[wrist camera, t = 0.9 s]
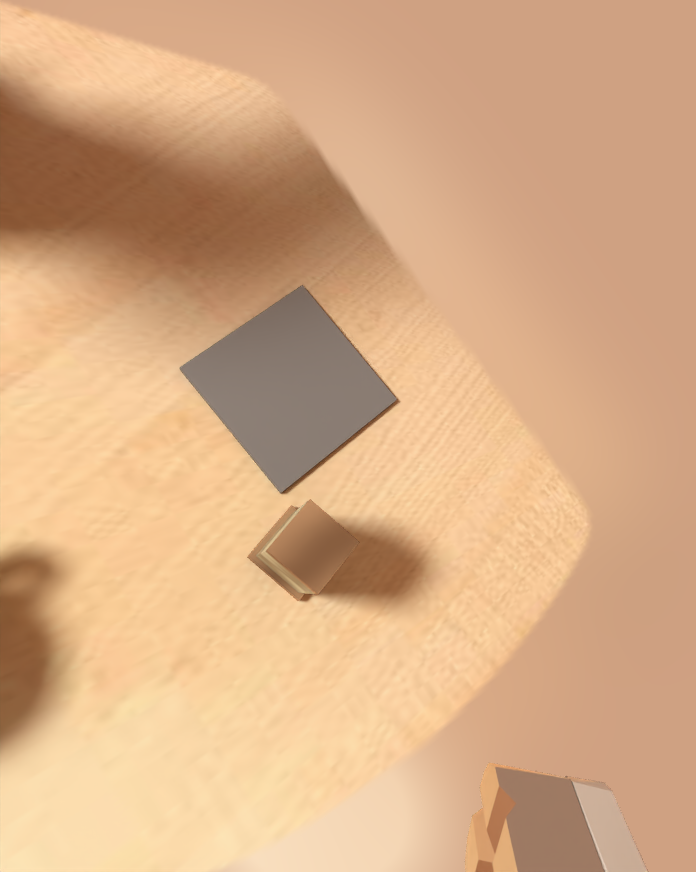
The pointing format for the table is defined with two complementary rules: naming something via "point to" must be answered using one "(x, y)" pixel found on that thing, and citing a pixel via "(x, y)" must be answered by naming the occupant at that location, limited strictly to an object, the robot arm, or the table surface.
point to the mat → (288, 387)
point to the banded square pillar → (303, 550)
